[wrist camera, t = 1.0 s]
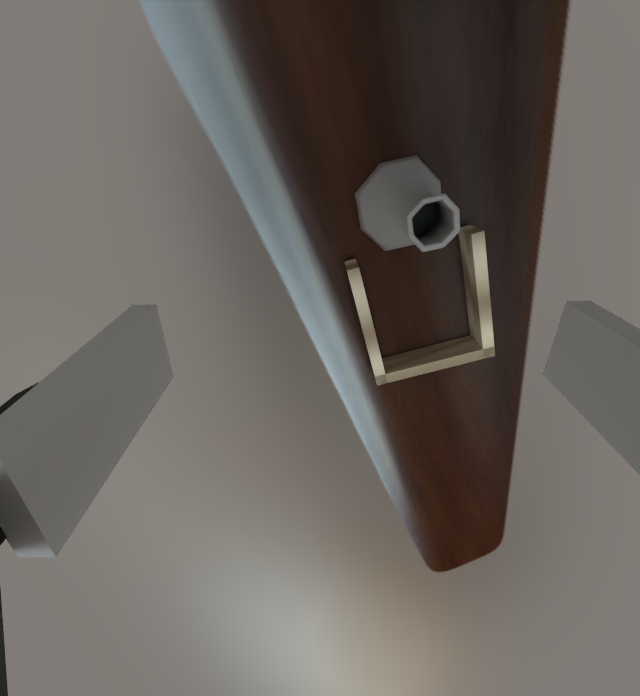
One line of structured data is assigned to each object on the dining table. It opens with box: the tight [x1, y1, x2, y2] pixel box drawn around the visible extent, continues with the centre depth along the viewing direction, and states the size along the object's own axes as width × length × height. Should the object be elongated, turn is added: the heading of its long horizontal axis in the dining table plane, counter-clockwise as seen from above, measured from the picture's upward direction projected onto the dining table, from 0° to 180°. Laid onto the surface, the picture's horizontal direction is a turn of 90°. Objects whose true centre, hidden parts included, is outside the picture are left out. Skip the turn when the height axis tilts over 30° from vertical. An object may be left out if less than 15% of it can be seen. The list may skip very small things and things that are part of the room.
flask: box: [355, 154, 460, 252], centre depth 26 cm, size 7×7×10 cm
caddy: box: [344, 225, 495, 385], centre depth 33 cm, size 12×11×3 cm
